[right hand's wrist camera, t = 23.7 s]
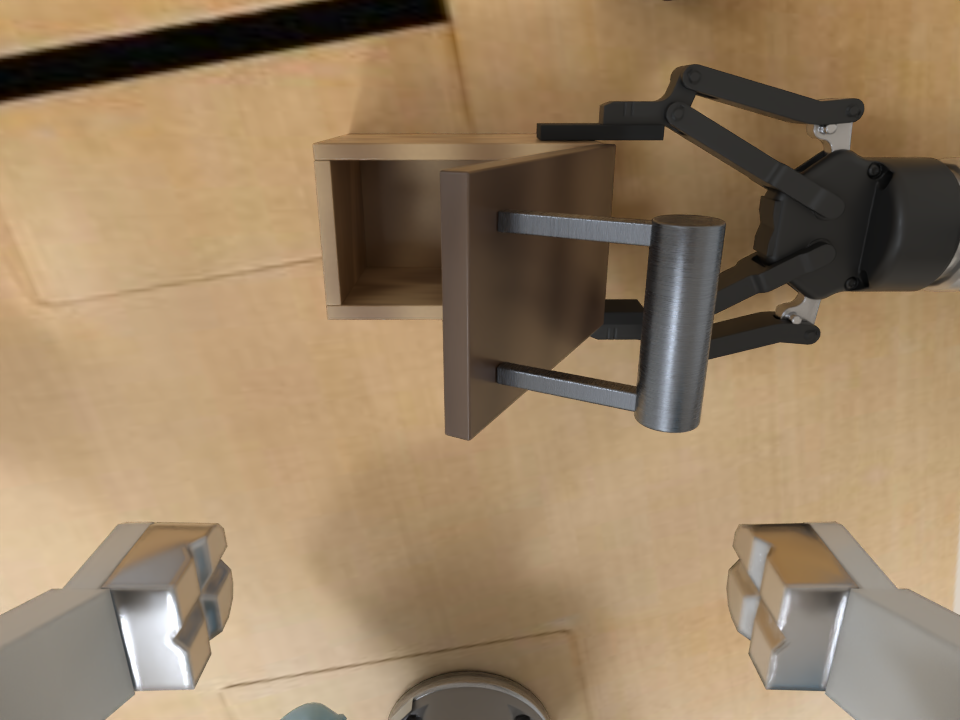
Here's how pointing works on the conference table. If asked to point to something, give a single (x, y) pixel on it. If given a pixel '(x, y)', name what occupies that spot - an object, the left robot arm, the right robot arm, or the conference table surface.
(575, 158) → the door
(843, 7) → the conference table surface
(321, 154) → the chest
